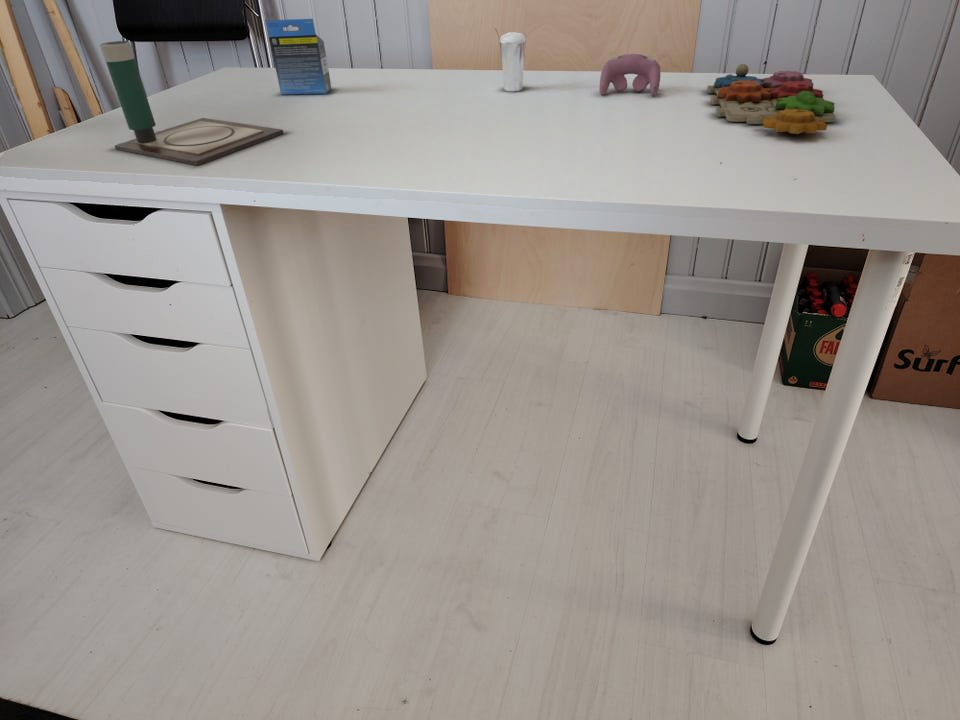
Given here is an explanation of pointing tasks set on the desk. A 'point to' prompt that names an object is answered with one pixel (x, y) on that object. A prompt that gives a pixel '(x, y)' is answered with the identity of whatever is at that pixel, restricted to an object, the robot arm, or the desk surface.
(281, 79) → the tape cartridge
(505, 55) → the milkshake
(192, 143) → the picture frame
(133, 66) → the marker
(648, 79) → the video game controller
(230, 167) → the desk surface
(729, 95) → the gear puzzle
